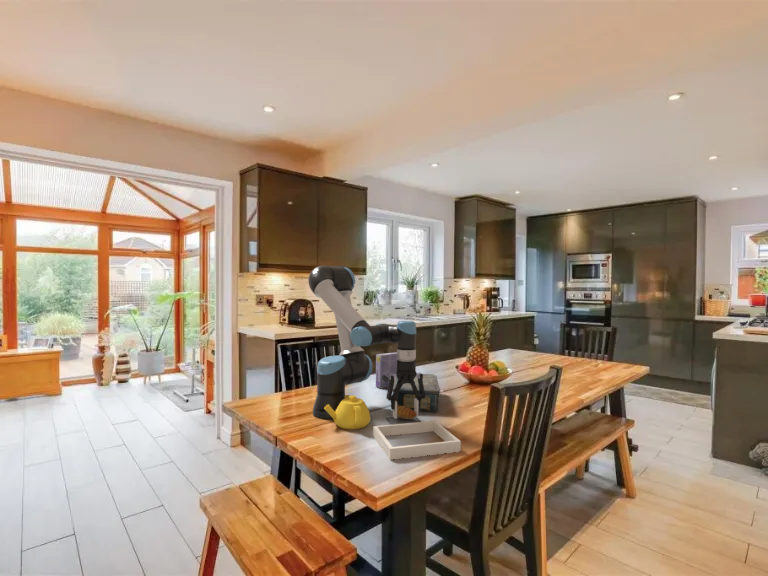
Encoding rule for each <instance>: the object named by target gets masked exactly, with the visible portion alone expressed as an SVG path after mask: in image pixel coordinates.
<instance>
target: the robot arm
mask: <svg viewBox="0 0 768 576" xmlns="http://www.w3.org/2000/svg"><path fill="white" fill-rule="evenodd" d="M307 280H308V281H307V282H308V286H309V289H310V291H311V292H312V294H314V295H315V297H316V298H320V299H321V300H322V301H323V303H324V304H325V305H326V306H327V307H328V308H329V309H330V310H331V312H333V314H334V319H335V324H336V329H337V334H338V340H339V345H340V352H339V355H329V356H324V357H323V358H321V359H320V360H319V361H318V362H317V369H316V371H317V376H316V377H317V381H316V385H317V388H316V389H317V390H316V391H317V393H316V398H315V400H314V404H313V407H312V415H313V416H314V417H316V418H319V419H329V420H330V419H333V418H332V417H331V416H330V415H329V414H328V412H327V411H326V410H325V409H324V407H325V406H326V405H328V404H329V405H330V407H331V408H332V409H333V410H334V411H336V409H337V407H338V405H339V404H340V402H341V401H342V400H343V399H345V395H346V386H349V385H353V384H357V383H362V382H364V381H366V380H368V379H369V378H370V377H371V375H372V373H373V368H374V367H373V362H372V359H371V358H370V356H369V355H367V354H365V353H366V351H365V350H364V349H363V348H362V347H368V346H372V345H381V344H385V343H389V344H396V352H397V359H398V360H397V372H396V374H393V375H391V374H390V375H389V379H390V381H389V386H388V387H387V392H386V397H385V398H386V400H388V402H389V401H390V409H391V410H392V416H393V417H394V418H395V419H397V401H395V400H396V398H397V396H398V393H399V391H400V389H401V387H402V385H403V384H406V383H410V384H411V387H412V389H413V391H414V394H415V396H416V398H417V399H414V411H415V412H416V414H417V415H416V417H417V418H419V412H418V408H420V406H421V400H422V398H425V392H424V386H423V380H422V379H423V374H424V373H421V372H417V371H416V370H417V367H416V365H417V363H416V362H417V360H416V358H417V356H416V355H417V348H416V345H417V343H416V342H417V326H416V325H417V324H416V321H413V320H399V321H397V323H396V324H388V323H377V324H376V325H375V324H374V325H370V324H369V323H368V322H367V320H365V319H364V317H363V316H362V315H361V314H360V313H359V312H358V311H357V310H356V309H355V307H353V305H352V300H351V296H352V294H353V289H354V288H355V284H356V277H355V274H354V272H353V271H352V270H351V269H350V268H348V267H346V266H345V267H344V266H339V265H338V266H335V265H334V266H333V265H319V266H316V267H314V268H313V269H312V270H311V271H310V273H309V275H308V279H307ZM416 376H417V378H418V385H419V391H420V394H419V392H418V390H417V387H416V385H415V382H414V378H415V377H416ZM396 377H397V378H398V381H397V385H396V387H395V390H394V392H393V386H394V380H395V378H396ZM333 420H334V419H333Z"/></svg>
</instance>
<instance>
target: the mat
mask: <svg viewBox="0 0 768 576" xmlns="http://www.w3.org/2000/svg"><path fill="white" fill-rule="evenodd" d="M386 420H387V421H388V422H389V423H390V425H393V424H405V423H416V422H423V421H422V420H420V418H419V417H415V418H413V419H405V418H400V417H398V416H397V419H395V418H394V417H393V415H392V416H386Z"/></svg>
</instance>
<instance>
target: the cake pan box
mask: <svg viewBox="0 0 768 576" xmlns="http://www.w3.org/2000/svg"><path fill="white" fill-rule="evenodd" d="M397 360H398V359H397V351H396V352H388V353H378V354H376V355H375V388H379V389H386V388H388V386H389V381H390V379H389V375H390V374H391V375H393V374H396V372H397ZM394 381H395V380H394Z"/></svg>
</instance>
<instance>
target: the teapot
mask: <svg viewBox="0 0 768 576" xmlns="http://www.w3.org/2000/svg"><path fill="white" fill-rule="evenodd" d="M324 409H325V410H326V411H327V412H328V414H329V415H330V416H331V417H332V418H333V421H334V424H336V426H337V427H338V428H341V429H343V430H359V429H363V428H365V427H367V425H368V424H369V423H370V422H371V414H370V410H369V408H368V406H367V404H366V402H365V401H364V400H363V399H362V398H360V397H359V398H358V397H357V396H356V395H350V394H345V399H343V400H342V401H341V402H340V404H339V405H338V407H337V409H336V411H334V410H333V409H332V408H331V407H330V405H329V404H328V405H326V406H325V407H324Z"/></svg>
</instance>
